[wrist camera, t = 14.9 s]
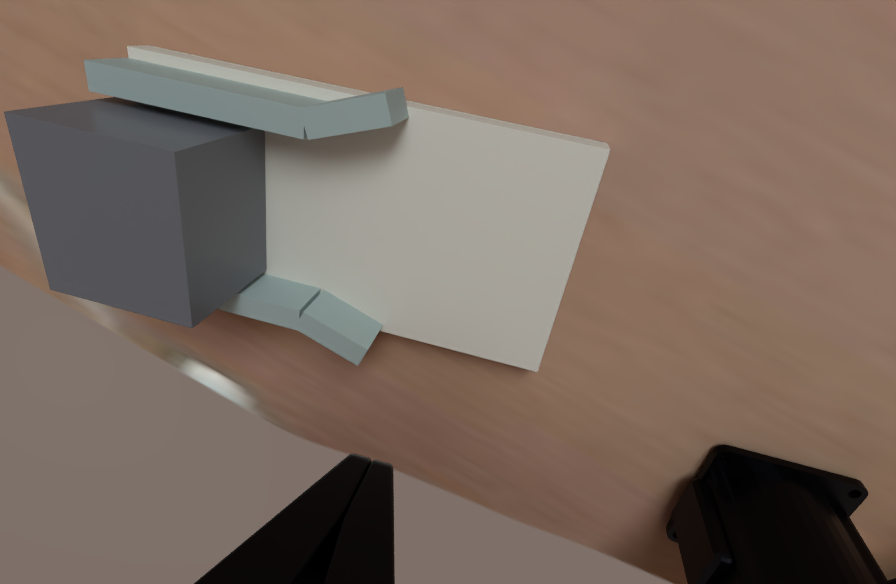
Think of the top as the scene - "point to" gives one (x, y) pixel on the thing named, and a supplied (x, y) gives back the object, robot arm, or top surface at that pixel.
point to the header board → (390, 207)
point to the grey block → (143, 204)
